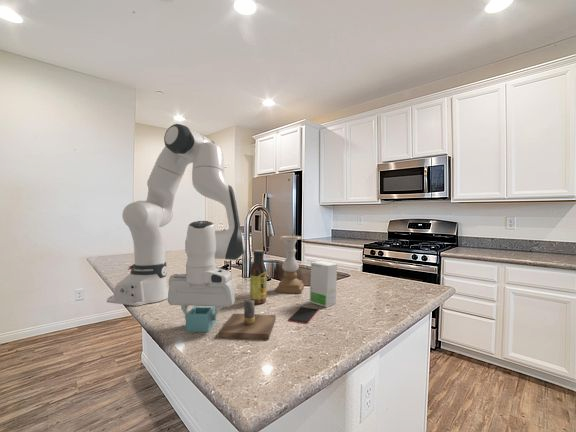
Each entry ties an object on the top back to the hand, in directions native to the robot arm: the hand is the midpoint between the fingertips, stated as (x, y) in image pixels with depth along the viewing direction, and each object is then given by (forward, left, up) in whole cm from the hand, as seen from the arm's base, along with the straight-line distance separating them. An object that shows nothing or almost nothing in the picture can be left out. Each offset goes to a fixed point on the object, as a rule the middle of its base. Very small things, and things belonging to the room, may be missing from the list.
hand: (201, 319), depth 86 cm
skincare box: (+38, +25, -2) cm, 45 cm away
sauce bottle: (+13, +24, -2) cm, 27 cm away
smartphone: (+31, +12, -3) cm, 33 cm away
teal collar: (0, -1, -2) cm, 2 cm away
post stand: (+15, 0, -2) cm, 15 cm away
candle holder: (+24, +42, -2) cm, 48 cm away
